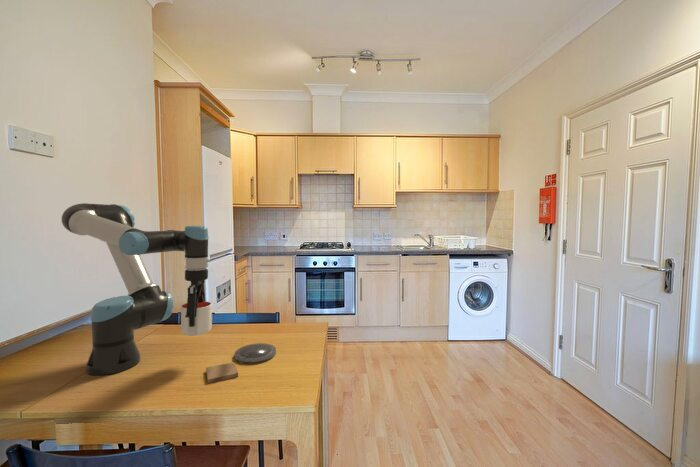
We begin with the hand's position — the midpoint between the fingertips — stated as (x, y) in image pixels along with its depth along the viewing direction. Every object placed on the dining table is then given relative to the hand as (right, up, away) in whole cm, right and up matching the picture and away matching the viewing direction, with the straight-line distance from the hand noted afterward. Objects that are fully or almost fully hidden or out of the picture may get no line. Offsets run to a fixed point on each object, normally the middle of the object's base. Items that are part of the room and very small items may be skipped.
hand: (196, 329), depth 114 cm
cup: (0, -1, 0) cm, 1 cm away
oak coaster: (+13, -12, -9) cm, 20 cm away
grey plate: (+20, -11, +6) cm, 24 cm away
